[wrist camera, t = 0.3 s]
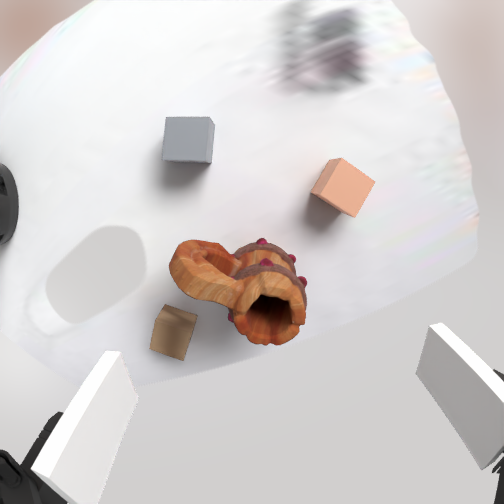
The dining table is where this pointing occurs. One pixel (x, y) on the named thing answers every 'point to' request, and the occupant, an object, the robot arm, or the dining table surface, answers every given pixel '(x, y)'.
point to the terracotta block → (343, 186)
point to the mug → (245, 286)
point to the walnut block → (172, 332)
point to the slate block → (188, 139)
